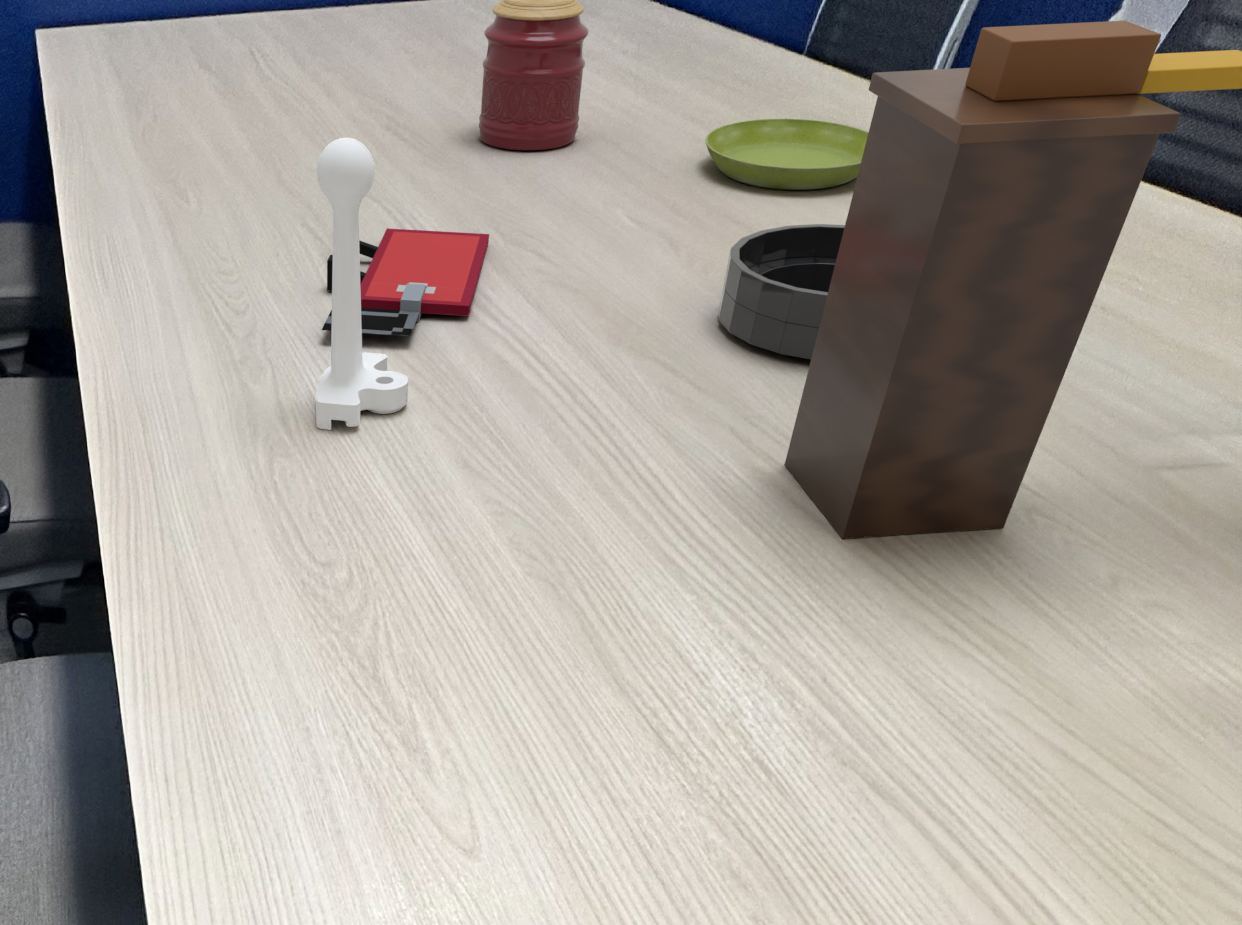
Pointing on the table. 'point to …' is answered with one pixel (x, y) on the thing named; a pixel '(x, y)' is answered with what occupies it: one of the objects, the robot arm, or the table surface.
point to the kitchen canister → (532, 74)
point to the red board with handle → (416, 278)
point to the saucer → (788, 153)
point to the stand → (960, 297)
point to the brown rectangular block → (1091, 63)
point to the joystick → (351, 299)
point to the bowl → (780, 286)
